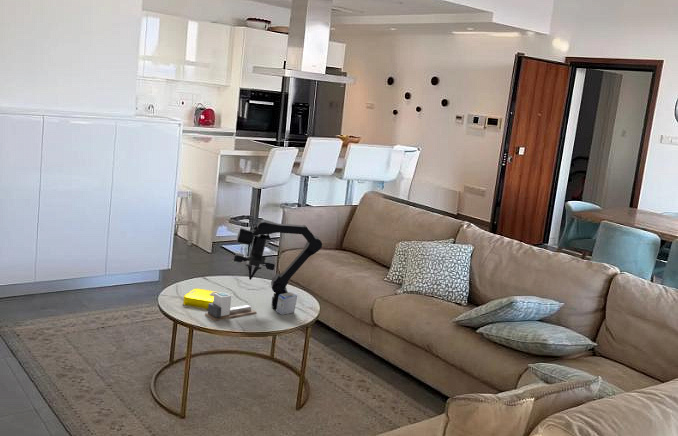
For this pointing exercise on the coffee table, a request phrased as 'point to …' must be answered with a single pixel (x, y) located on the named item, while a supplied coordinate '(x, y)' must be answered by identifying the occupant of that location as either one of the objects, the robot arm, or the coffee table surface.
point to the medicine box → (286, 303)
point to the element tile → (199, 298)
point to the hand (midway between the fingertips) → (250, 279)
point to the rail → (216, 310)
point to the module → (223, 302)
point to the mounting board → (232, 315)
